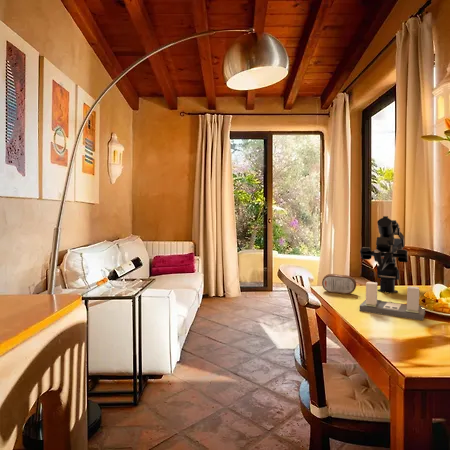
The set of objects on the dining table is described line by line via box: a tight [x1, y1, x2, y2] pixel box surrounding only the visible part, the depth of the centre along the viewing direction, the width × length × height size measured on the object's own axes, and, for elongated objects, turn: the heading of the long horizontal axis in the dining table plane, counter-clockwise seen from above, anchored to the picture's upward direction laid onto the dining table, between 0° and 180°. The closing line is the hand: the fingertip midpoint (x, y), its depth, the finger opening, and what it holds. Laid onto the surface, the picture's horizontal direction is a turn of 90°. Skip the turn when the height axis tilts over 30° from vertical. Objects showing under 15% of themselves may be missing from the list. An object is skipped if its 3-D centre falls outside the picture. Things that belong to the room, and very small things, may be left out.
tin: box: [321, 273, 357, 295], centre depth 161 cm, size 15×3×8 cm, turn 65°
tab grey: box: [406, 285, 420, 311], centre depth 125 cm, size 3×4×8 cm
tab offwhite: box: [365, 281, 378, 305], centre depth 133 cm, size 3×4×8 cm
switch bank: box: [359, 299, 426, 322], centre depth 131 cm, size 12×21×2 cm, turn 56°
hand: (380, 270), depth 148 cm, fingers closed
